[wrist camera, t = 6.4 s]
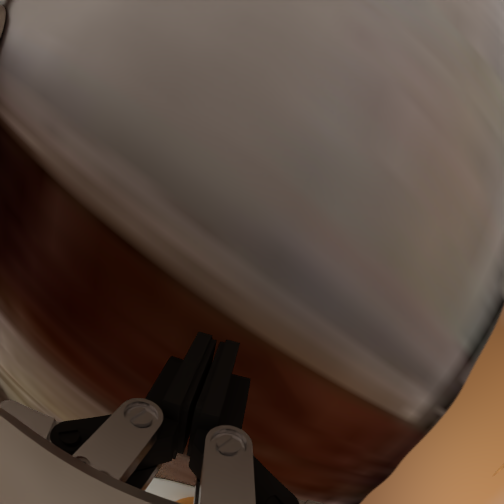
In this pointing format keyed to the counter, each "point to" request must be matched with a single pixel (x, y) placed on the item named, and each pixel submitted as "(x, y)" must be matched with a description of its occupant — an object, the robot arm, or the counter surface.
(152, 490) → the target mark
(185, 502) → the ball
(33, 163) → the counter surface
